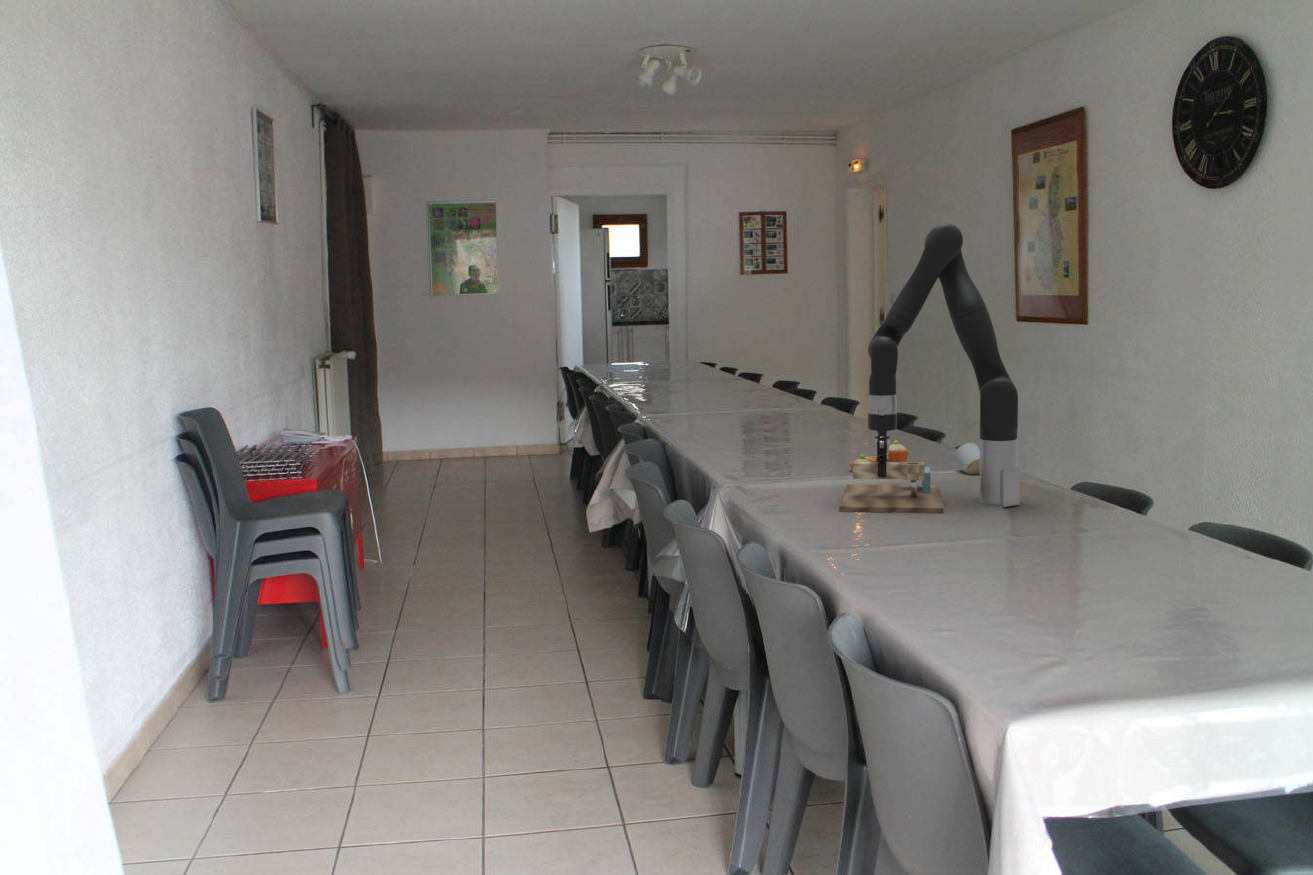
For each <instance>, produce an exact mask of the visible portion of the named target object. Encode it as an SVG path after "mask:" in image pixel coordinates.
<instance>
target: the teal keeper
mask: <svg viewBox="0 0 1313 875" xmlns="http://www.w3.org/2000/svg"><path fill="white" fill-rule="evenodd" d="M921 485H922V492H923V493H930V485H931V468H930V466H925V480H921Z"/></svg>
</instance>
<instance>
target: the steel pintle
mask: <svg viewBox="0 0 1313 875" xmlns="http://www.w3.org/2000/svg"><path fill="white" fill-rule="evenodd" d="M917 482H918V480H910V485H911V497H917V485H918V483H917Z"/></svg>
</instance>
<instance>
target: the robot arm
mask: <svg viewBox="0 0 1313 875" xmlns="http://www.w3.org/2000/svg"><path fill="white" fill-rule="evenodd" d="M962 234H963V233H962V232H961V230H960V228H959V227H957V226H956V225H954V224H952V223H940V224H938V225H935V226H934V227H933V228H931V230H929V232H928V233H927V235H926V237H925V239H924V243H923V244H924V249H923V252H922V254H921V257H920V259H919V261H918V263H917V265H916V266H915V269H914V270H913V272H912V274H911V275H910V277H909V279H908V281H907V282H906V283H905V284H904V286H903V288H902V289H901V291H900V292H899V294H898V295H897V296H896V298H895V300H894V302H893V304H892V305H891V307H890V309H889V311H888V313H887V315H886V317H885V319H884V321H883V322H882V324H881V325H880V326H879V327H878V329H877V331H876V332H875V334H874V335H873V337H872V338H871V340H870V342H869V344H868V347H867V353H868V356H869V357H870V363H871V364H870V369H871V370H870V372H871V373H870V376H869V381H868V391H869V392H868V403H867V428H868V430H869V431H876V432H877V435H874V444H875V454H876V457H877V463H878V477H886V463H887V459H888V457H887V456H888V454H889V446H890V445H891V436H890V435H888V431H890V432H891V431H896V429H897V428H898V400H897V375H896V374H897V369H898V368H897V367H898V358H899V348H898V346H899V345H900V343H901V341H902V339H903V338H904V336H905V335H906V334H907V333H909V331H910V329H911V328H912V326H913V324H914V323H915V321H916V319H917V318H918V316H919V314H920V312H921V311H922V309H923V307H924V304H925V303H926V300H927V299H928V296H929V295H930V293H931V291H932V289H933V288H934V285H935V284H936V282H937V280H938V279H939V282H940V284H941V288H942V293H943V296H944V299H945V303H946V306H947V310H948V314H949V316H950V320H951V323H952V325H953V328H954V331H955V333H956V336H957V339H958V340H959V342H960V344H961V346H962V348H963V350H964V353H966V355H967V358H968V359H969V361H970V363H971V365H972V368H973V370H974V374H975V378H976V381H977V386H978V390H979V449H980V474H979V502H980V503H982V504H987V505H998V506H999V505H1000V506H1002V508H1008V507H1013V506H1020V504H1021V503H1020V502H1021V500H1020V499H1021V498H1020V496H1021V491H1020V490H1021V469H1020V468H1018V426H1019V423H1018V421H1019V392H1018V389H1017V387H1016V386H1015V383H1014V382H1013V381H1012V379H1011V376H1010V375H1009V373H1008V371H1007V369H1006V367H1005V365H1004V362H1003V360H1002V358H1001V355H1000V352H999V345H998V342H997V336H996V333H995V330H994V325H993V322H992V318H991V316H990V313H989V311H988V308H987V305H986V302H985V301H984V299H983V297H982V295H981V293H980V291H979V290H978V288H977V286H976V284H975V283H974V281H973V280H972V278H971V276H970V274H969V272H968V269H967V267H966V263H965V260H964V257H963V252H962V247H963V245H964V244H963V242H964V238H963V235H962Z"/></svg>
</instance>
